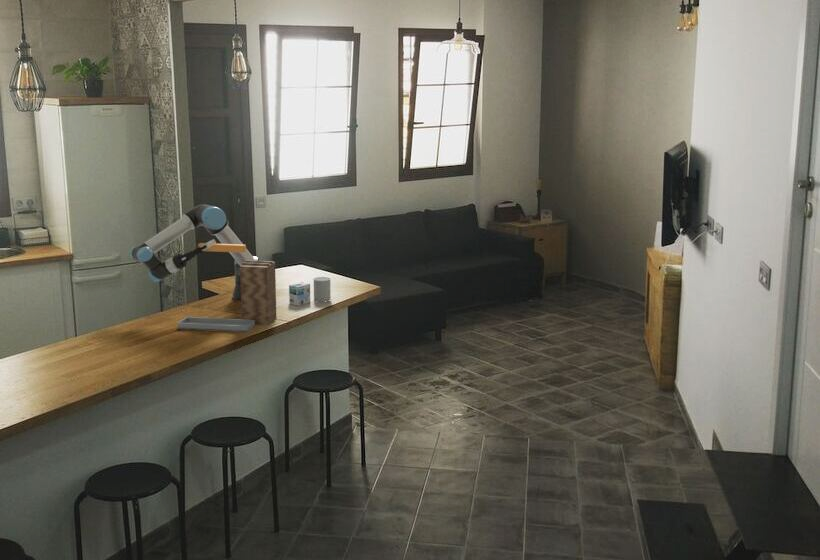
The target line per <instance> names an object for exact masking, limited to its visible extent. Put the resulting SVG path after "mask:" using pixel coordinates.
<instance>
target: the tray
mask: <svg viewBox="0 0 820 560" xmlns="http://www.w3.org/2000/svg"><path fill="white" fill-rule="evenodd" d="M176 325H177V329H179V330H190V329H195V331H211V330H219V331H218V332H231V331H236V333H249V332H250V331H251V330H252V329H253V328H254V327H255V326H256V325H255V320H244V319H242V318H241V319H239V318H221V317H220V318H218V317H199V316H197V317H195V316H185V318H183V319H181V320H180V321H178V322H177V324H176ZM252 327H253V328H252ZM251 328H252V329H251ZM250 329H251V330H250ZM249 330H250V331H249Z"/></svg>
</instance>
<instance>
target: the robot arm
mask: <svg viewBox="0 0 820 560" xmlns="http://www.w3.org/2000/svg"><path fill="white" fill-rule="evenodd" d="M201 226H202V227H204V229H206V231H207V232H208V233H209V235H210V236H215V237H216V238H217V240H218V241H219V242H220V244H243V242H242V241H241V240H240V238H239V237H238V236H237V235H236V234H235V232H234V231H233V230H232V229H231V228H230V226H229V220H227V215H226V213H225V212H224V211H223V210H222V209H221V208H220V207H218V206H215V205H214V206H213V205H209V204H203V203H201V204H198V205H197V206H195V207H193V208H191V209H189V210H188V211H186V212H185V213H183V214H182V217H181V218H179V219H178V220H176V221H175V222H173V223H172V224H170V225H168V226H167V227H166V228H165V229H163V230H161V231H159V233H157V234H155V235H154V236H152V237H151V238H149V239H148V240H147V241H145V242H143V243H142V244H140V245H136V246H132V247H131V248H130V250H129V256H130V257H131V259H133V260H134V262H138V263H140V264H142V265H144V266H145V267H146V268H147V269H148V276H149V277H150V279H151V281H153V282H155V283H157V282H160V281H162V280H164V279H166V278H167V277H170V276H172V275H173V274H177V272H179V271H180V270H183V268H185V267H186V266H187V265H188V264H187V262H188V261H189V262H190V260H192V259H193V258H195V257H196V256H197V255H199V254H203V252H205V251H204V250H206V249H208V248H209V247H211V246H213V243H215V244H218V243H217V242H216V240H215V239H214V238H213V239H211V240H209V241H207V242H204V243H205V244H204V245H202V246H200V247H201V248H200V247H198V246H197V248H195V249H193V250H191V251H188V252H186V253H184V254H182V253H177V254H175V255H173V256H172V257H169V258H168V259H166V260H165V261H162V260H161V259H160V258H159V257H158V256H157V255H156V253H157V252H159V251H160V250H161V249H163V248H165V247H166V246H167V245H169V244H170V243H172V242H174V241H175V240H177V239H179V238H180V237H181V236H183V235H184V234H185V233H187V232H188V231H190V230H195V229H196V228H198V227H201ZM228 253H229V254H230V255H231V257H232V258H233V259H234V280H235V281H234V287H233V291H232V298H233V299H234V300H236V301H237V300H238V301H241V281H240V266H241V265H242V263H243V262H244V263H246V260H249V261H261V260H260V259H259V257H257V256H254V255H252V254H251V253H250V251H249V250H248V248H246V252H244V253H242V252H228Z"/></svg>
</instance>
